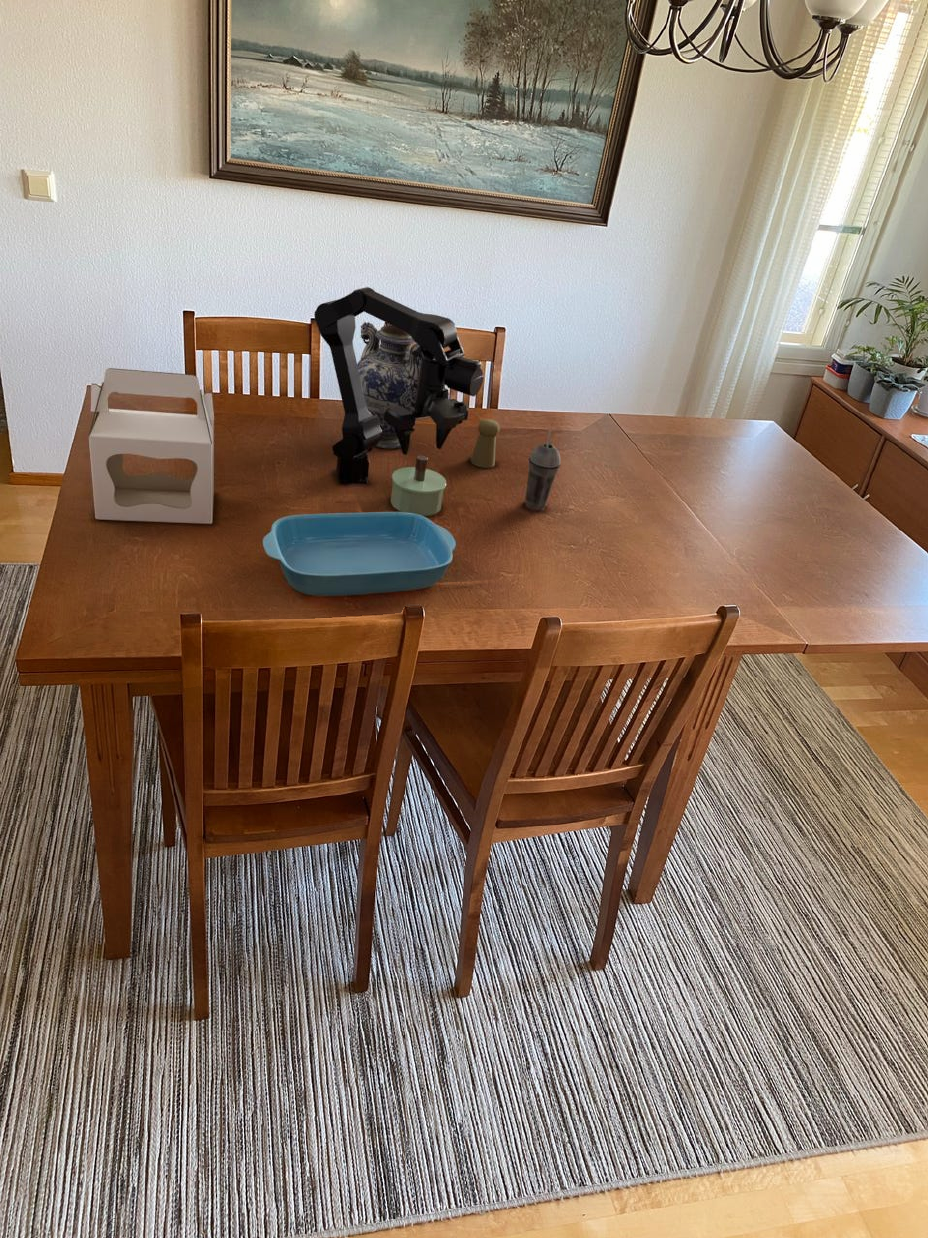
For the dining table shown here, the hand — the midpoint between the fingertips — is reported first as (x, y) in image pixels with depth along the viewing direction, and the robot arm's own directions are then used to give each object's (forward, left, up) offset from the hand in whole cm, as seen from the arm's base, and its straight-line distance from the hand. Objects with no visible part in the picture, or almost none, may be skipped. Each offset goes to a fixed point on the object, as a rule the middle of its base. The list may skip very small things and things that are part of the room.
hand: (421, 451), depth 192 cm
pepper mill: (+25, +21, -13) cm, 35 cm away
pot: (0, -1, -13) cm, 13 cm away
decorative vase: (+3, +34, -13) cm, 36 cm away
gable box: (-54, +1, -13) cm, 56 cm away
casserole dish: (-19, -27, -13) cm, 36 cm away
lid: (0, -1, -7) cm, 7 cm away
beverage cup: (+29, -3, -13) cm, 31 cm away
